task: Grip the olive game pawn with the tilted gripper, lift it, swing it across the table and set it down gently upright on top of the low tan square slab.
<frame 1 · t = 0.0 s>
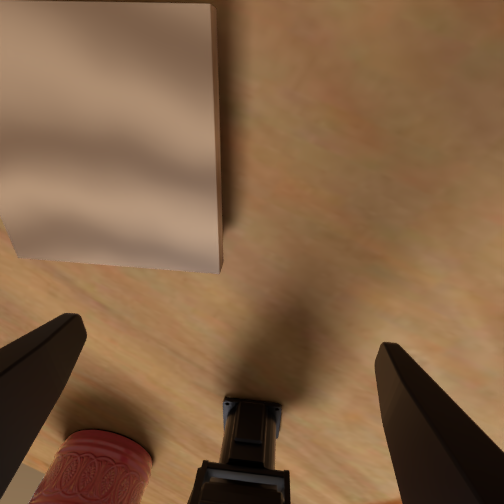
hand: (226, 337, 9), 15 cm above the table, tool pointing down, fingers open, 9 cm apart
canister: (110, 451, 45), on the table
tan square slab: (118, 147, 22), on the table
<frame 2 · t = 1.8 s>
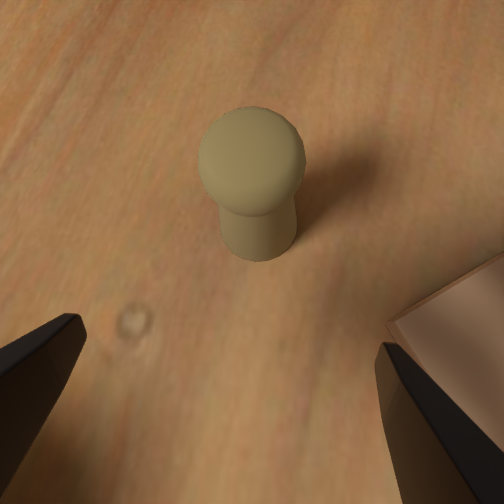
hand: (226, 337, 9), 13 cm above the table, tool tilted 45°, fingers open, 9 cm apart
olive game pawn: (258, 224, 25), on the table
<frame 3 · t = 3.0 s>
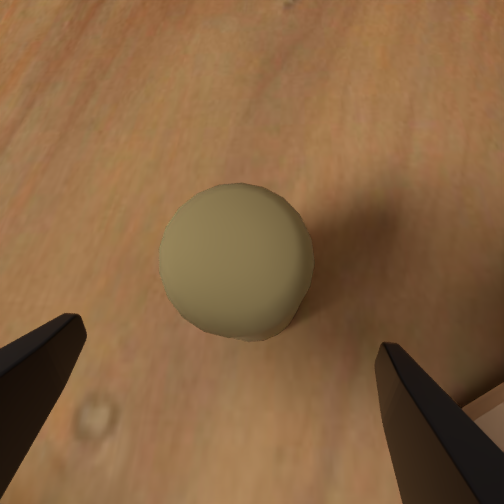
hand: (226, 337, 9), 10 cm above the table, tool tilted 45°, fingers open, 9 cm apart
olive game pawn: (251, 292, 20), on the table
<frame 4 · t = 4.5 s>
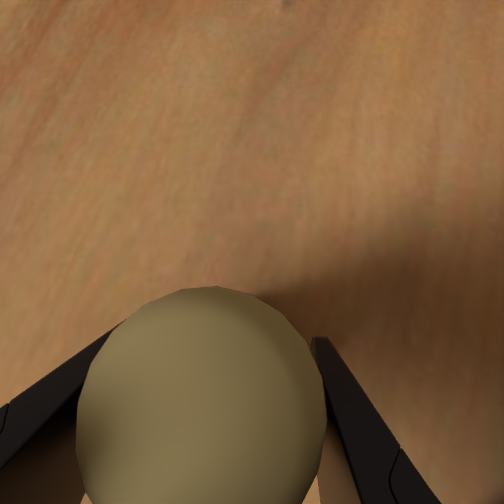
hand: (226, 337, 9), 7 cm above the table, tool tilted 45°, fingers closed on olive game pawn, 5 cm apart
olive game pawn: (242, 361, 16), on the table, touching gripper
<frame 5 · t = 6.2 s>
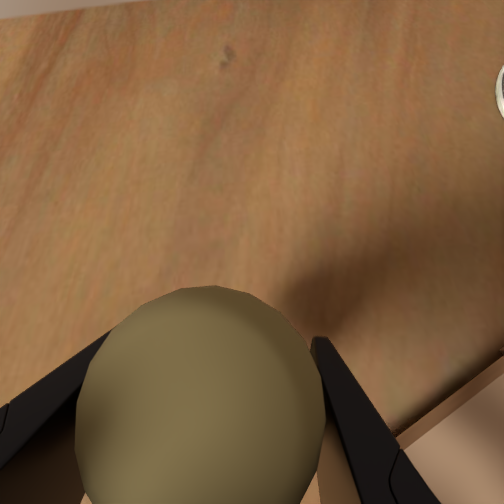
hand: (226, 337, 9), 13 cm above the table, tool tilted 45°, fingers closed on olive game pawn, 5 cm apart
olive game pawn: (241, 360, 16), point 5 cm above the table, touching gripper
when the fingers open (12 cm above the table, at t = 8.2 s): olive game pawn drops 1 cm, resting on tan square slab.
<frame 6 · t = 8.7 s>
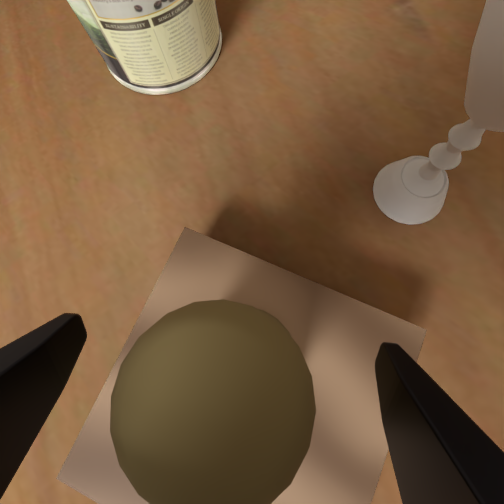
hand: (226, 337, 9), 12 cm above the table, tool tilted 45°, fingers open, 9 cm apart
coffee can: (164, 47, 27), on the table
chalice: (407, 192, 23), on the table
olive game pawn: (243, 361, 18), point 3 cm above the table, touching tan square slab
tan square slab: (249, 389, 20), on the table
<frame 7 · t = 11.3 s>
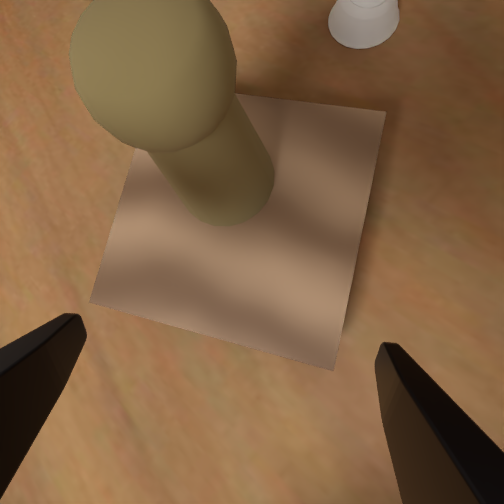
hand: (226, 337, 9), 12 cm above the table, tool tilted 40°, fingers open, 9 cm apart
chalice: (362, 20, 24), on the table
olive game pawn: (226, 179, 20), point 3 cm above the table, touching tan square slab
tan square slab: (244, 224, 22), on the table
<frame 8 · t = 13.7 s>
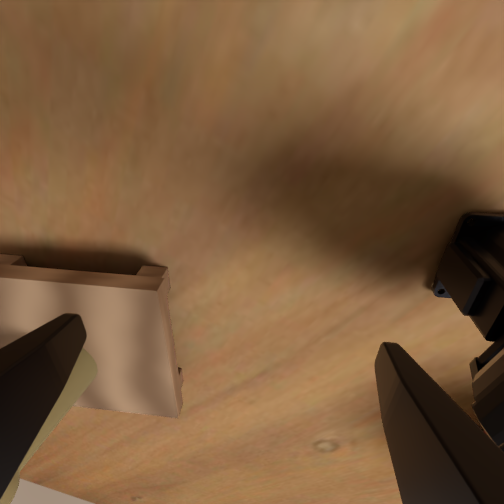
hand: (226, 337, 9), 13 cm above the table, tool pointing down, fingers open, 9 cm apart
olive game pawn: (63, 359, 27), point 3 cm above the table, touching tan square slab
tan square slab: (101, 324, 29), on the table
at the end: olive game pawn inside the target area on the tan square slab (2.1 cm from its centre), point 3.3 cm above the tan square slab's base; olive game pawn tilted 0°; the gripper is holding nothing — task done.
